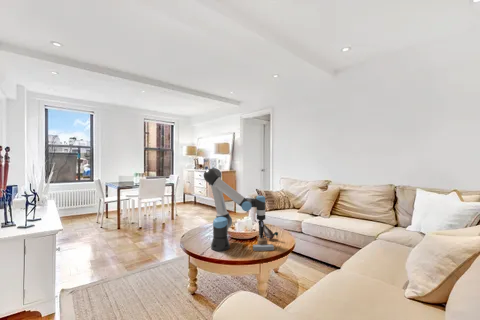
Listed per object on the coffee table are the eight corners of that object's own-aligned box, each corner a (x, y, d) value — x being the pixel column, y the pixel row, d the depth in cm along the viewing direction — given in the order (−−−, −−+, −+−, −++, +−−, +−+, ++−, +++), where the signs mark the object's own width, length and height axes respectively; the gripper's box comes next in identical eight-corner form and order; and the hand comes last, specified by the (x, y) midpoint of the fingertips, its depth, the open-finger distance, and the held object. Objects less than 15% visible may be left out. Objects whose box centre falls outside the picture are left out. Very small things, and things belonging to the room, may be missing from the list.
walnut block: (258, 248, 189) (258, 240, 189) (257, 245, 196) (257, 237, 196) (267, 248, 189) (267, 240, 189) (265, 244, 196) (265, 237, 196)
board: (253, 250, 183) (253, 247, 183) (252, 248, 188) (252, 244, 188) (273, 250, 184) (273, 246, 184) (272, 247, 189) (272, 244, 189)
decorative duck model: (281, 236, 207) (275, 219, 211) (277, 238, 201) (270, 221, 205) (268, 240, 215) (262, 224, 219) (263, 242, 209) (257, 226, 213)
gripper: (266, 216, 192) (266, 245, 192) (264, 212, 205) (264, 239, 205) (257, 216, 191) (257, 245, 191) (255, 212, 204) (255, 239, 204)
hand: (261, 242), depth 198 cm, fingers closed
